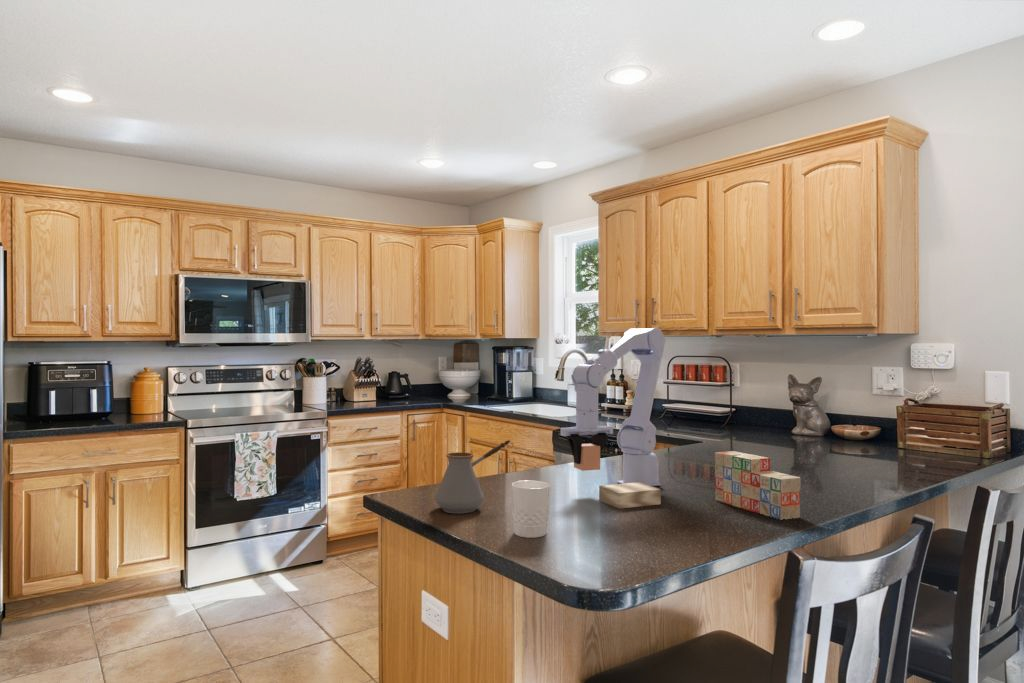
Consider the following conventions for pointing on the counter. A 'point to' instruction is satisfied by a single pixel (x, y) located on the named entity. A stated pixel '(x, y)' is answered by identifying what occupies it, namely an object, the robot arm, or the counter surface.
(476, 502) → the coffee pot
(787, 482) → the stack of blocks
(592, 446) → the terracotta block
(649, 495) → the birch block
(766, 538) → the counter surface
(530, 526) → the white cup
